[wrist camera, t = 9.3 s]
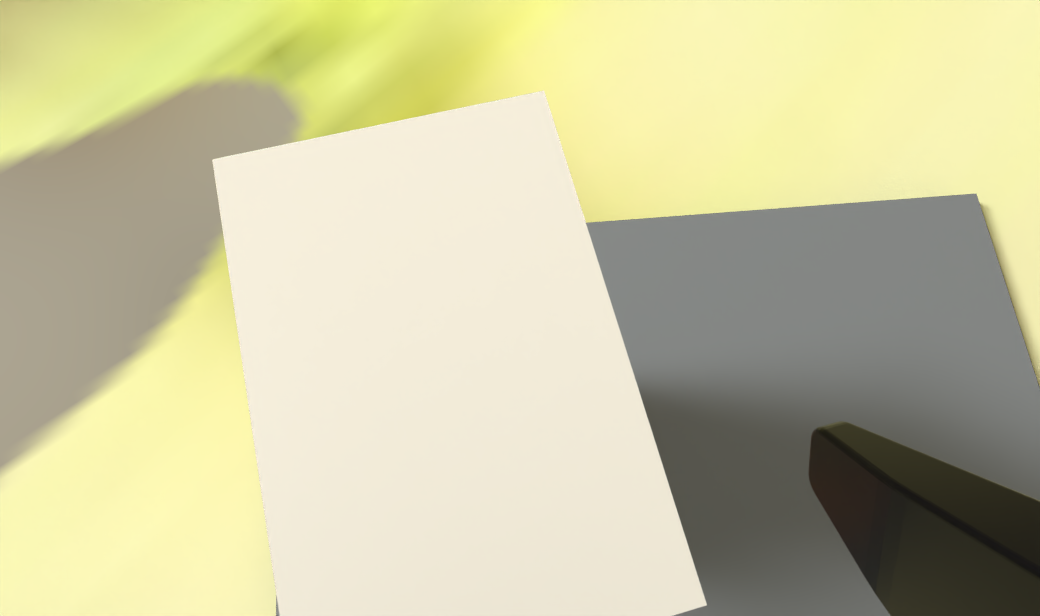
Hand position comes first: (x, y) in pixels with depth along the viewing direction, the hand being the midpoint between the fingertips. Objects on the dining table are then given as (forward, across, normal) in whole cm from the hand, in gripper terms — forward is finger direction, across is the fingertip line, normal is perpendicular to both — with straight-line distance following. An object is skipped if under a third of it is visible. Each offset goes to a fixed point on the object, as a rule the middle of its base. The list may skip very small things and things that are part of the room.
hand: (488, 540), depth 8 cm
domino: (+8, 0, +5) cm, 9 cm away
